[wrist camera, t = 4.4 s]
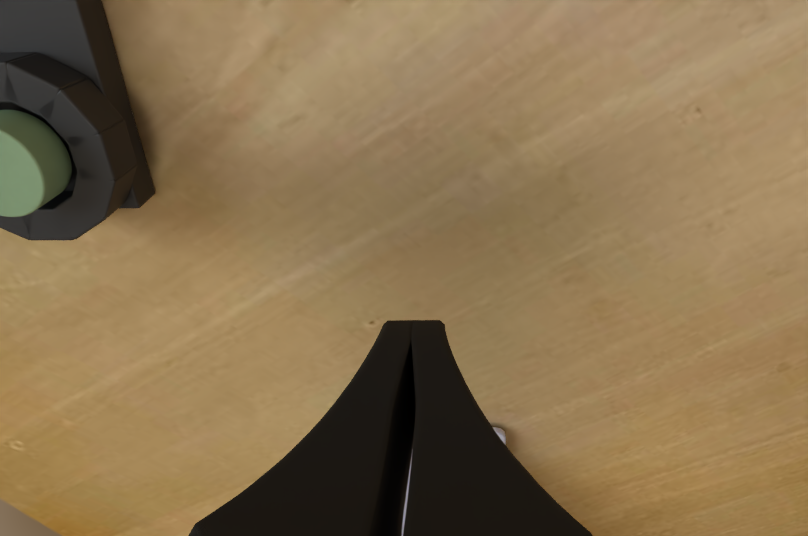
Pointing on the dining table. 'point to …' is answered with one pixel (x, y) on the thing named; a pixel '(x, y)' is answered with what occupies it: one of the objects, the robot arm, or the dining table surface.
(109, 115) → the scale
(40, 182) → the button
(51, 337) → the dining table surface
